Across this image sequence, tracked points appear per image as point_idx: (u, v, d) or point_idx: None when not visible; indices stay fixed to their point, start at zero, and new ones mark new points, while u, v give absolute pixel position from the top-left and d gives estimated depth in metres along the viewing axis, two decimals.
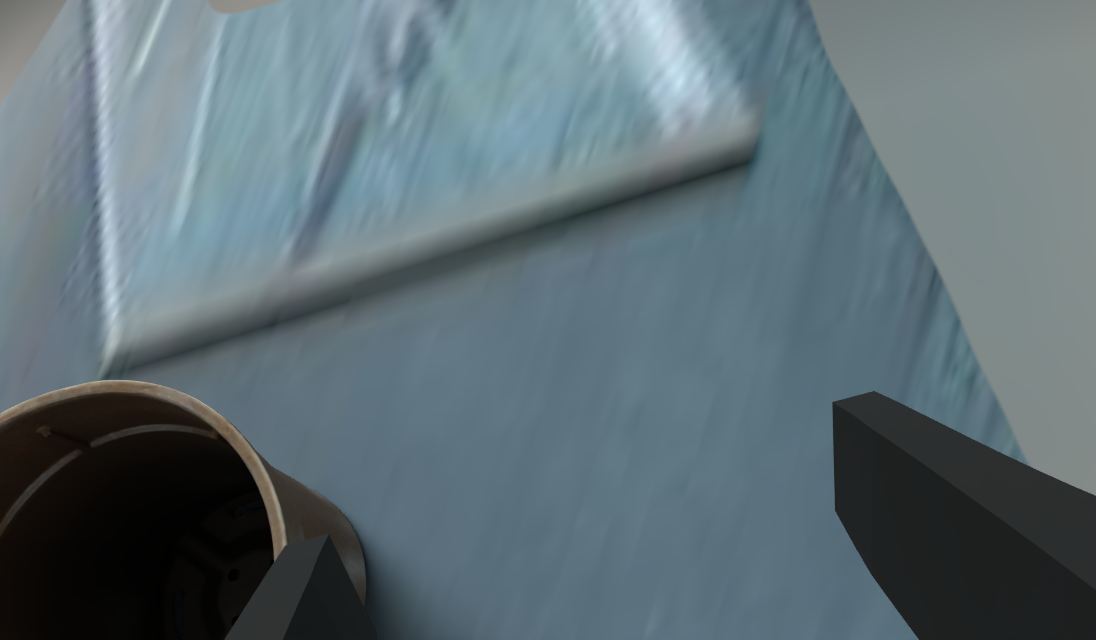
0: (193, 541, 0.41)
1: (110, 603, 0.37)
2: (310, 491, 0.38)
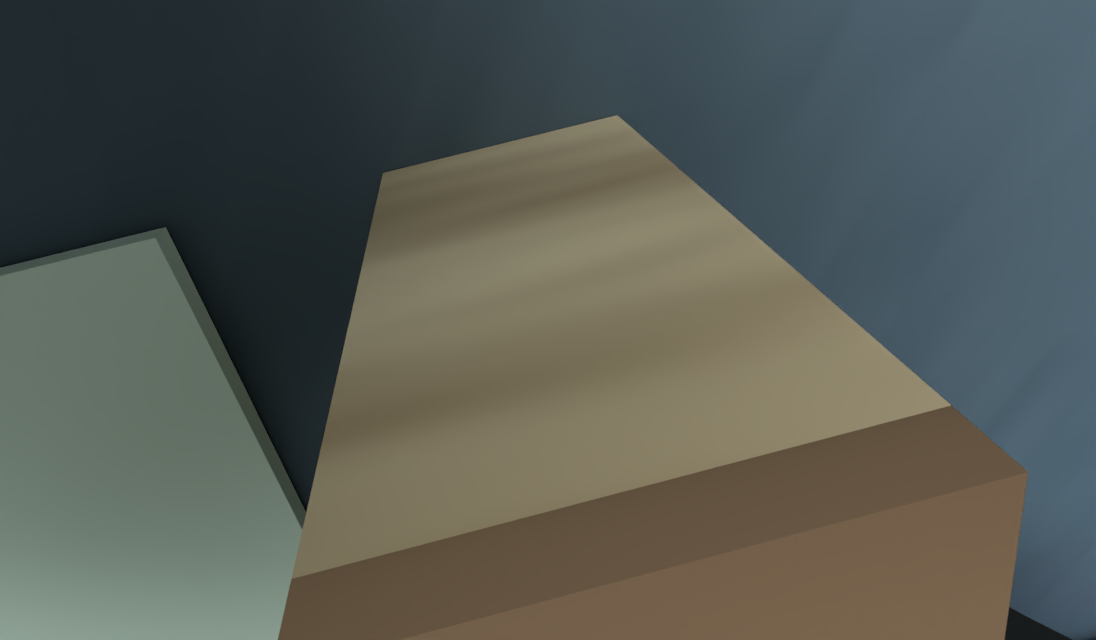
0: None
1: None
2: None
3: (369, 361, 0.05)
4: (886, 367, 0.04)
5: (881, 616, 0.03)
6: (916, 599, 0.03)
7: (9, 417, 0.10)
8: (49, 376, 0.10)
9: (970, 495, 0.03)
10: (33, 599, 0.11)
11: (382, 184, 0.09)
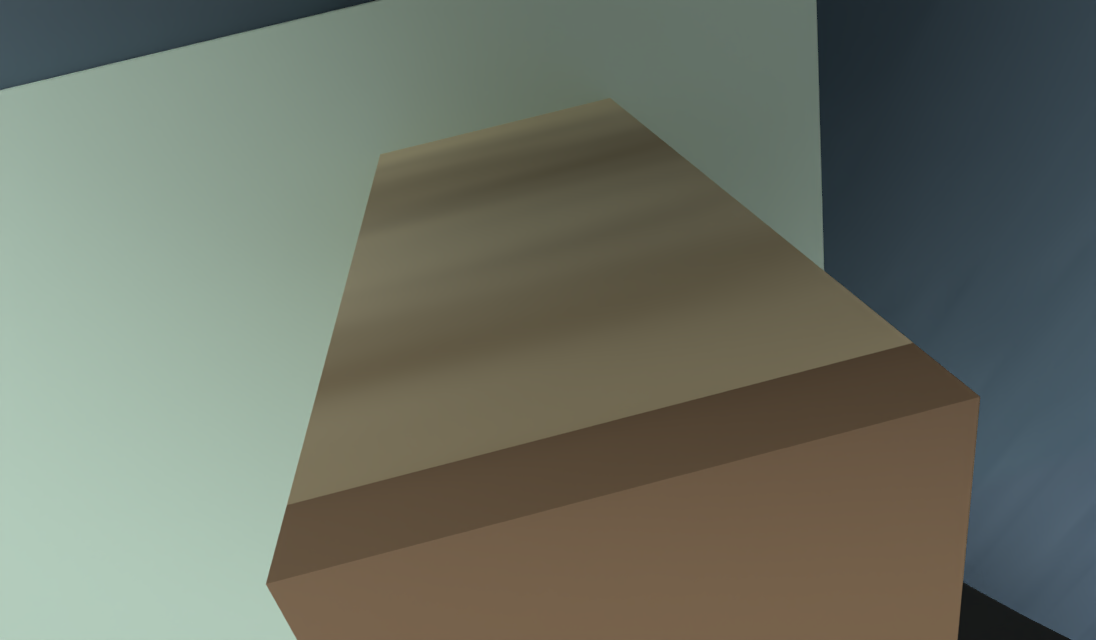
0: None
1: None
2: None
3: (364, 319, 0.05)
4: (854, 312, 0.04)
5: (845, 540, 0.03)
6: (879, 521, 0.03)
7: None
8: (665, 56, 0.10)
9: (926, 419, 0.03)
10: None
11: (379, 164, 0.09)
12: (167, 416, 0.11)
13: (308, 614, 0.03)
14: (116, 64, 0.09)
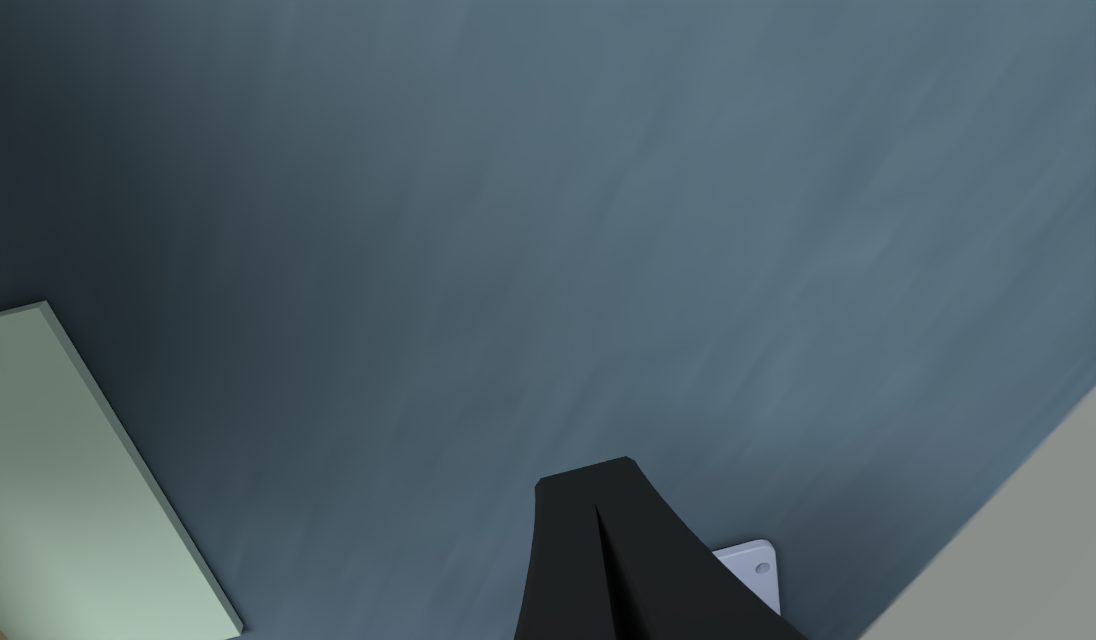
0: None
1: None
2: None
3: None
4: None
5: None
6: None
7: None
8: None
9: None
10: None
11: None
12: None
13: None
14: None
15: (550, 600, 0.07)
